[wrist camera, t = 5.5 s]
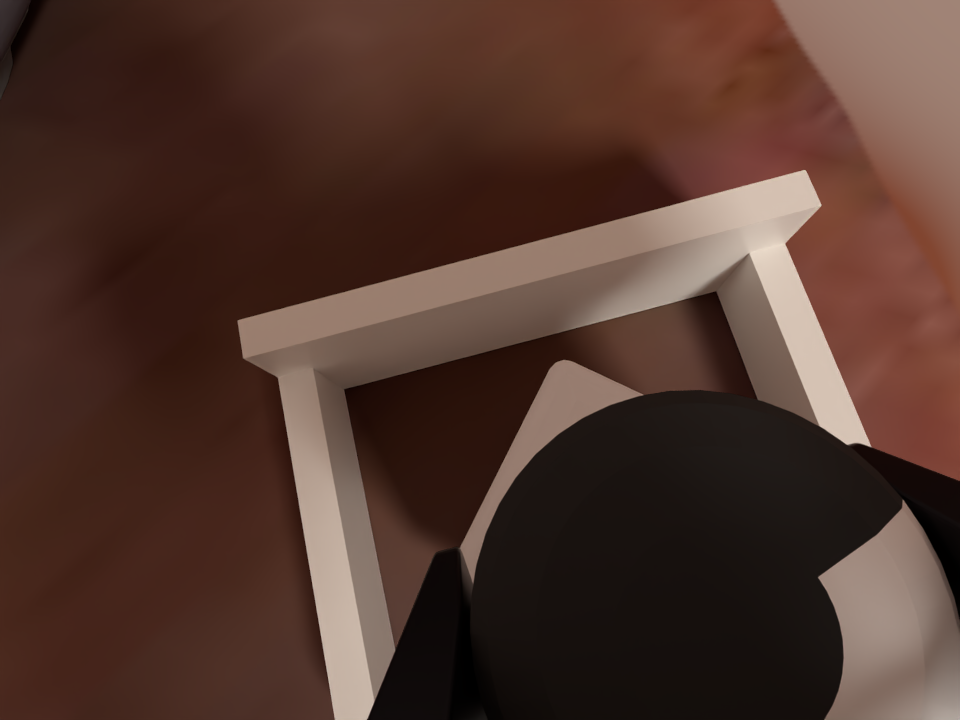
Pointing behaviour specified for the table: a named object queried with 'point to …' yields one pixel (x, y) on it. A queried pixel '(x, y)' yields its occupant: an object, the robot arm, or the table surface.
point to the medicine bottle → (700, 568)
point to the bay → (515, 319)
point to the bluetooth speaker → (9, 34)
